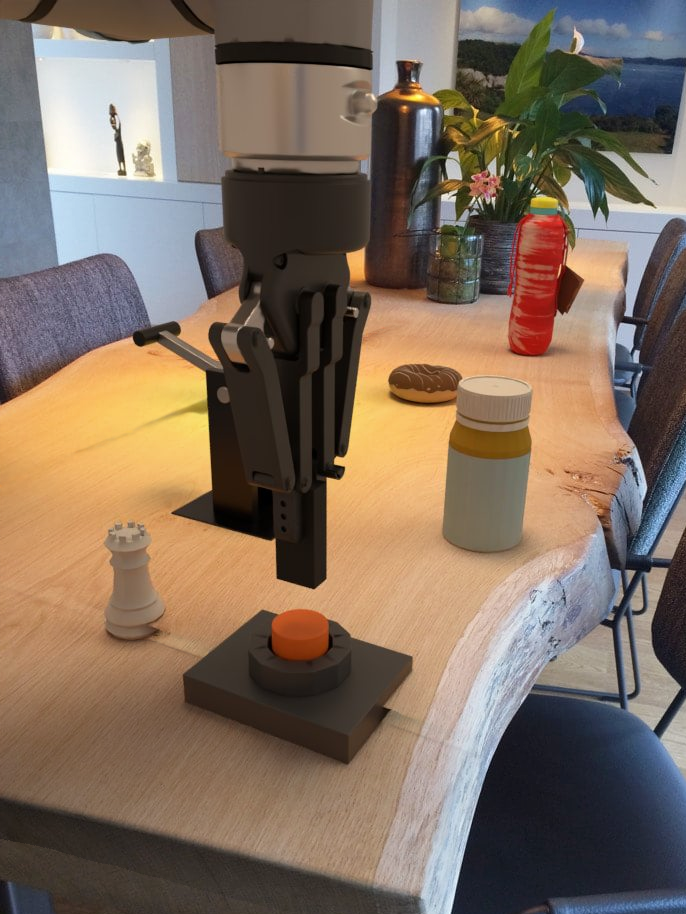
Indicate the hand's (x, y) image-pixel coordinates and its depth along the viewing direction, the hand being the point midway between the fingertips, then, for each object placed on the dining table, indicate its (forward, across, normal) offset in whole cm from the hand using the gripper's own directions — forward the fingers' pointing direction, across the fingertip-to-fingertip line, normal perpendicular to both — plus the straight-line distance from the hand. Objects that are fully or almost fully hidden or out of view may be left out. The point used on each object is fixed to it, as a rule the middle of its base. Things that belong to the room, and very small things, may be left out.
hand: (301, 578), depth 51 cm
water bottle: (+9, +100, +14) cm, 101 cm away
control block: (+9, 0, 0) cm, 9 cm away
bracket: (+9, +20, +18) cm, 28 cm away
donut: (+9, +66, +20) cm, 70 cm away
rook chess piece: (+9, +1, +15) cm, 17 cm away
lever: (-5, +20, +23) cm, 31 cm away
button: (+5, 0, 0) cm, 5 cm away
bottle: (+9, +26, -3) cm, 28 cm away
